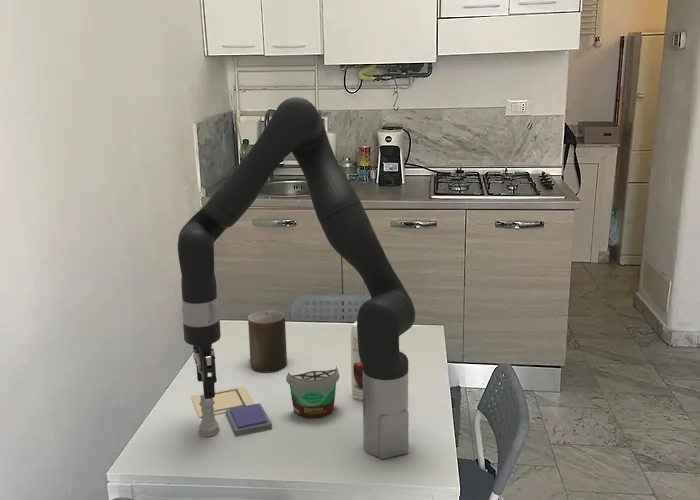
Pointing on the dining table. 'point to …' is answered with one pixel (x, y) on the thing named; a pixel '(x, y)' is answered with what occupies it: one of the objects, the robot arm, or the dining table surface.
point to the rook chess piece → (208, 418)
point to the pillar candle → (267, 341)
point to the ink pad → (248, 419)
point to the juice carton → (356, 365)
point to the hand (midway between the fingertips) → (206, 388)
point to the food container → (313, 393)
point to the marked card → (225, 400)
